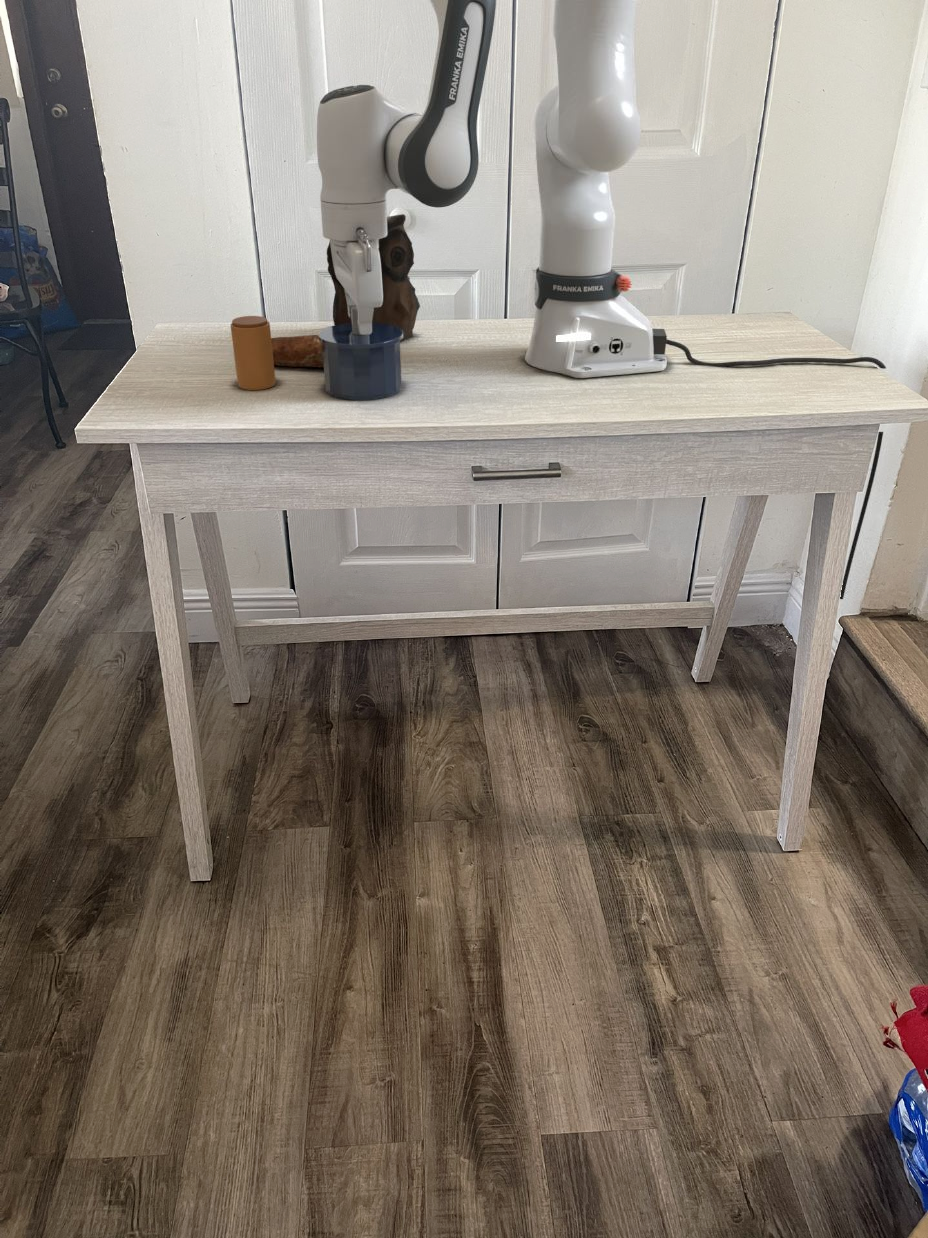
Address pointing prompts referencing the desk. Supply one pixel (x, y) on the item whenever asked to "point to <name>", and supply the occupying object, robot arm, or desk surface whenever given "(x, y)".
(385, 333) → the pot lid
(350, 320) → the owl
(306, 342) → the bread
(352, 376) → the pot
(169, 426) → the desk surface
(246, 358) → the tall brown tube
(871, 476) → the robot arm
